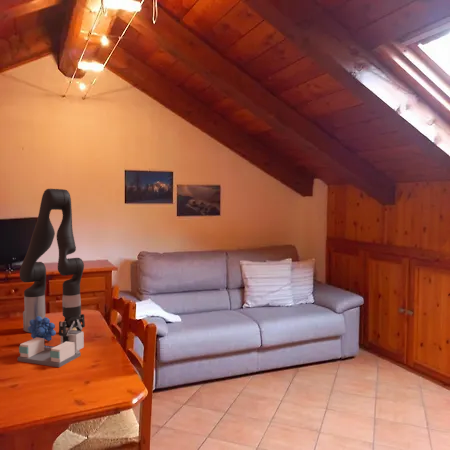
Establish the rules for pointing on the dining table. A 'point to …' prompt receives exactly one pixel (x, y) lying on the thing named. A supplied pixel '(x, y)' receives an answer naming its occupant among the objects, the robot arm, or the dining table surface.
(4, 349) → the dining table surface
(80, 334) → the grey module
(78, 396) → the dining table surface
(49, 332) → the grapes
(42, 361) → the rail board
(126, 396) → the dining table surface
